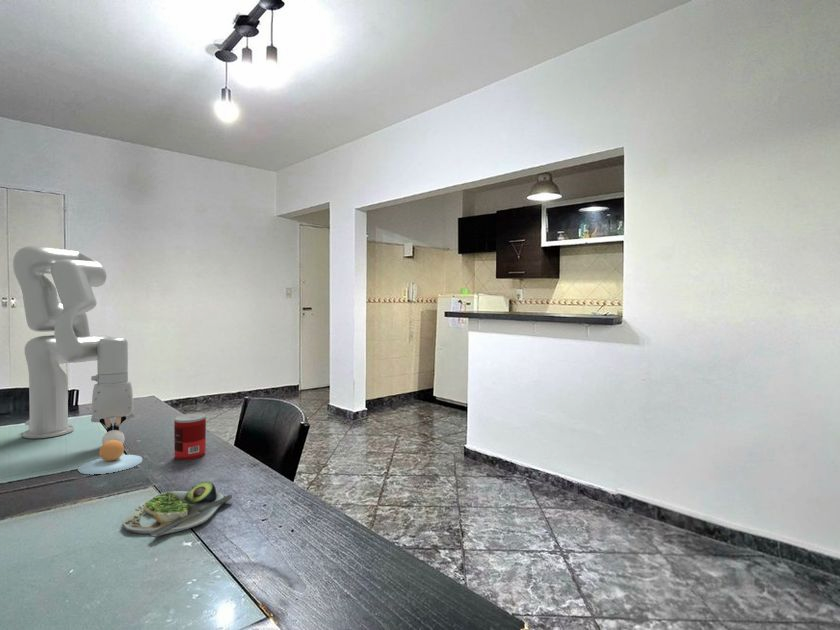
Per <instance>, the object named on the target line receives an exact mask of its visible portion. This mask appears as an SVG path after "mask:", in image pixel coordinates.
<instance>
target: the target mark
mask: <svg viewBox="0 0 840 630" xmlns="http://www.w3.org/2000/svg"><path fill="white" fill-rule="evenodd" d="M142 462H143V457H142V456H140V455H136V454H122V455H121V457H119V458H118V459H116V460H114V461H105V460H103V459H102V458H101V457H100V458H97V459H93V460H90V461H87V462H85V463H83V464H82V465H80V466H79V467H78V469H77V471H79V472H80V474H82V475H86V474H87V475H89V474H90V475H89V476H95V475H94V474H101V475H107V474H106V473H109V474H114V473H113V472H115V473H119V472H123V471H126V469H127V470H129V468H130V469H132V468H134V466H135V467H137V466H139V465H140V464H142ZM138 464H139V465H138ZM136 465H137V466H136ZM122 470H123V471H122ZM118 471H119V472H118ZM79 472H78V473H79ZM87 475H86V476H87Z"/></svg>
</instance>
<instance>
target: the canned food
mask: <svg viewBox="0 0 840 630" xmlns="http://www.w3.org/2000/svg"><path fill="white" fill-rule="evenodd" d="M173 422H174V430H173V431H174V433H173V434H174V435H173V436H174V438H173V439H174V445H173V446H174V457H175V459H176V460H179V459H180V460H179V461H187V460H189V459H190V460H193V459H198V458H200V457H203V456H204V455H205V453H206V450H207V449H206V448H207V447H206V446H207V445H206V440H207V439H206V434H207V432H206V429H207V427H206V426H207V423H206V422H207V421H206V414H204V413H196V412H195V413H187V414H185V413H184V414H181V415H178V416H176V417H174V421H173Z"/></svg>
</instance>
